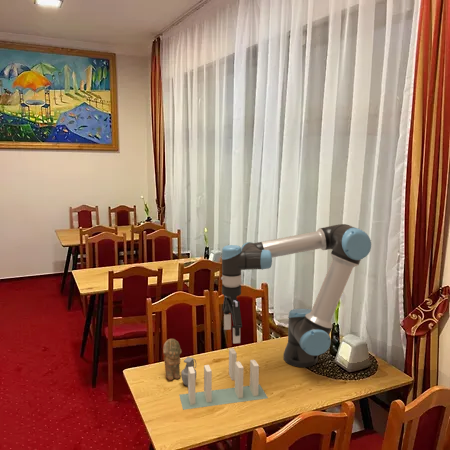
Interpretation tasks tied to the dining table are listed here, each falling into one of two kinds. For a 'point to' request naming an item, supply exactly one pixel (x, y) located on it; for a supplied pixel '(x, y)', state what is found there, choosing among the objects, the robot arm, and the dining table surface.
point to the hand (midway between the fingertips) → (231, 335)
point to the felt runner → (221, 397)
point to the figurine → (172, 358)
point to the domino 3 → (232, 363)
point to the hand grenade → (184, 372)
